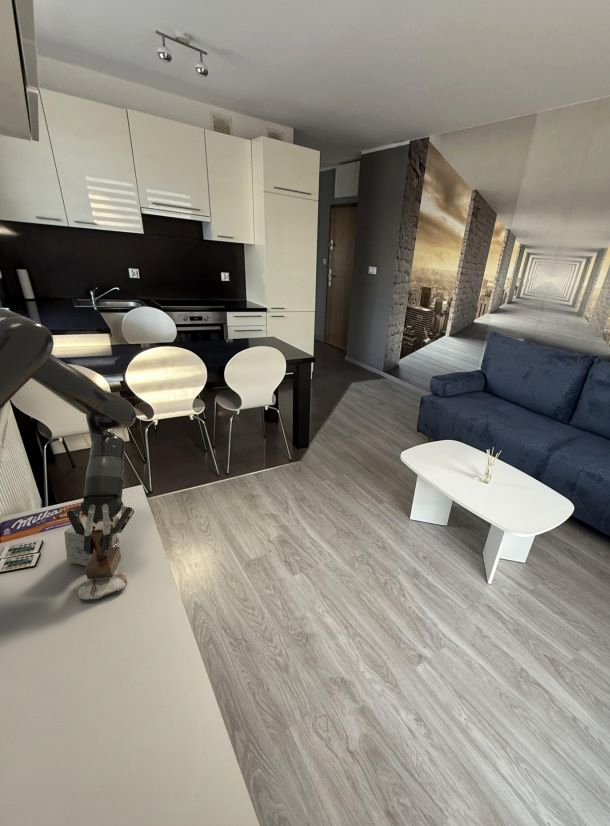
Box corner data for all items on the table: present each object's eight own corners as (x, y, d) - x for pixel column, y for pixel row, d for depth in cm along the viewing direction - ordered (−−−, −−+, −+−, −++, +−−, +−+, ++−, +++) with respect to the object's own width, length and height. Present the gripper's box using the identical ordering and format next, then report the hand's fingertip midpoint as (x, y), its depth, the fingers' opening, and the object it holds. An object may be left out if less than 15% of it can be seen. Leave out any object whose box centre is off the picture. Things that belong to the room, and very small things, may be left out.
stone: (80, 609, 86) (78, 600, 84) (76, 588, 91) (73, 579, 89) (130, 591, 91) (128, 582, 90) (123, 572, 96) (122, 563, 95)
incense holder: (99, 570, 96) (91, 535, 92) (67, 565, 97) (57, 531, 92) (125, 545, 105) (119, 512, 101) (96, 541, 106) (88, 508, 101)
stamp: (87, 579, 88) (77, 543, 84) (98, 558, 94) (89, 524, 90) (112, 577, 90) (104, 541, 85) (121, 556, 96) (114, 522, 92)
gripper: (63, 475, 88) (52, 554, 83) (133, 472, 92) (126, 548, 86) (78, 484, 95) (68, 558, 89) (141, 481, 99) (136, 552, 93)
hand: (97, 553), depth 88 cm, fingers closed on stamp, 2 cm apart
